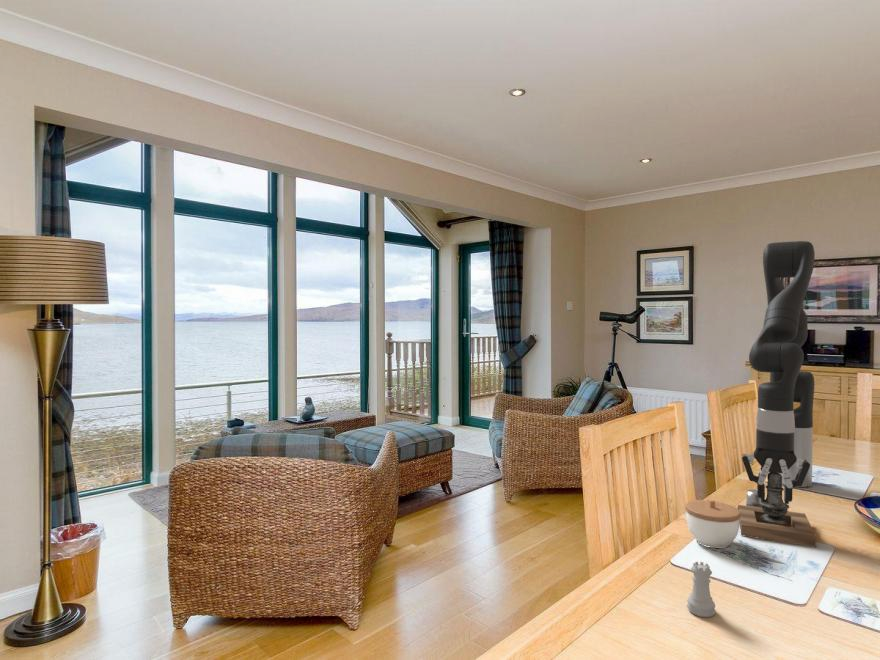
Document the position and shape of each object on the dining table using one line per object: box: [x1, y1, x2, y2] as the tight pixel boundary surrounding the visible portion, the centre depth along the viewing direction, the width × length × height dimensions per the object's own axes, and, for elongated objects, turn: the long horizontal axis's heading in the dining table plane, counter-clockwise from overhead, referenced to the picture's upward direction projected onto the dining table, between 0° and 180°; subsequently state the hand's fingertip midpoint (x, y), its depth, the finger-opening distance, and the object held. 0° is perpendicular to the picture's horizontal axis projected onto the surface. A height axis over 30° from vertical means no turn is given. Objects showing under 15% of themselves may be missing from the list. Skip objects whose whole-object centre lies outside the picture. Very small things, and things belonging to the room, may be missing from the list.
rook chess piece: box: [686, 561, 716, 619], centre depth 91 cm, size 4×4×8 cm
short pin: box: [745, 488, 762, 508], centre depth 136 cm, size 4×4×5 cm
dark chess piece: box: [760, 472, 790, 525], centre depth 124 cm, size 6×6×12 cm
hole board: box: [737, 504, 817, 548], centre depth 125 cm, size 14×14×2 cm
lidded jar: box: [685, 499, 740, 549], centre depth 118 cm, size 11×11×9 cm
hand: (774, 500), depth 125 cm, fingers closed on dark chess piece, 4 cm apart
